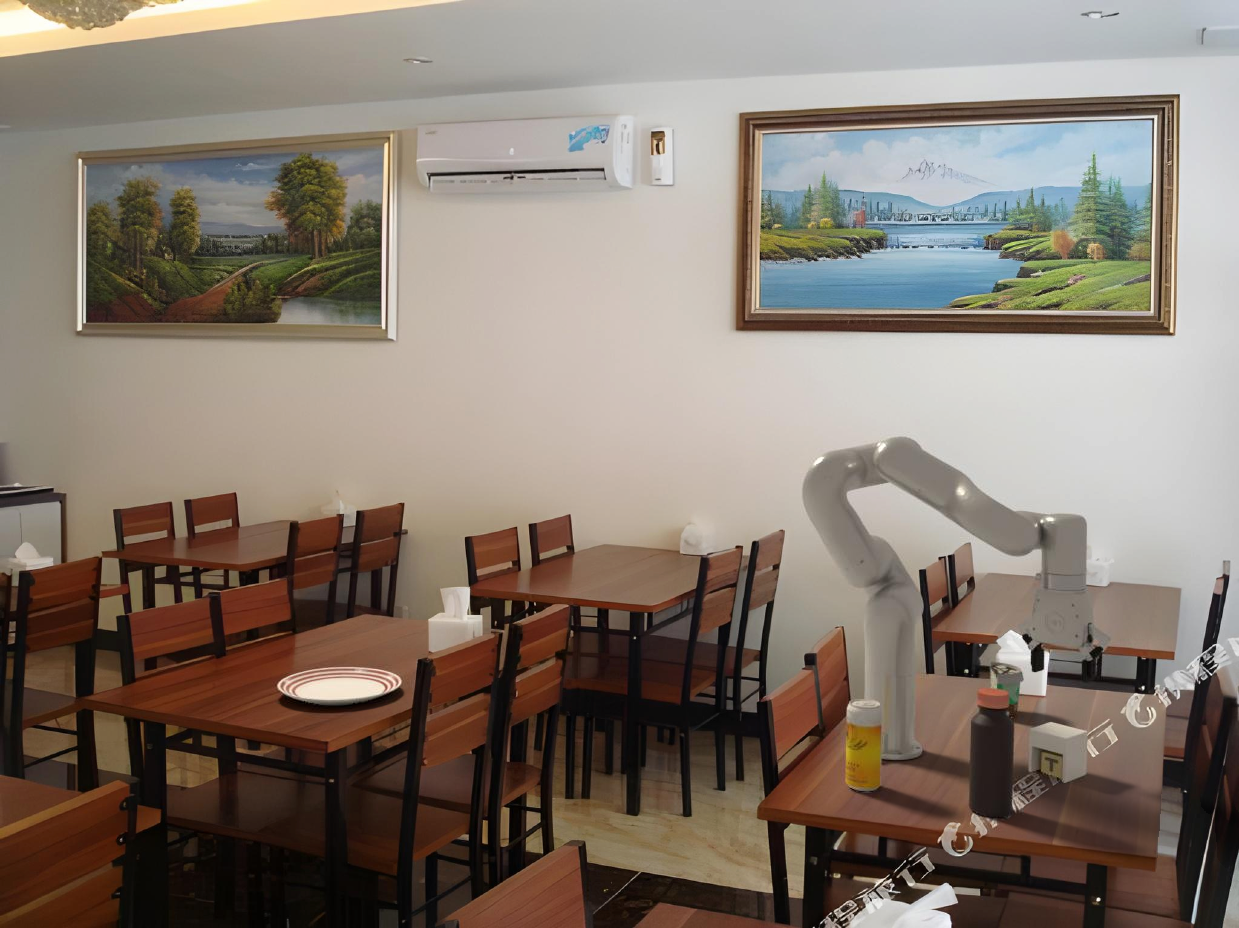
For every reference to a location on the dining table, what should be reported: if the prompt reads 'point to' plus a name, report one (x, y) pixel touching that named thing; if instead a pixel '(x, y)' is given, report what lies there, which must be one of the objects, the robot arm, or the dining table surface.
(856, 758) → the beer can
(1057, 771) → the letter cube
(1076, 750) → the cover
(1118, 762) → the dining table surface
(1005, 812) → the bottle
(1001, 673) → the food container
